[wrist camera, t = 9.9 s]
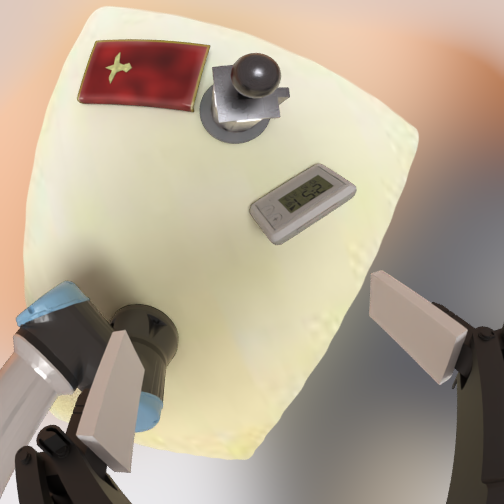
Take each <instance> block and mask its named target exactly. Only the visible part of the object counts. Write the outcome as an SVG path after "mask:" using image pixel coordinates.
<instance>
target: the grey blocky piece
mask: <svg viewBox="0 0 504 504" xmlns="http://www.w3.org/2000/svg"><path fill="white" fill-rule="evenodd" d="M232 67H233V65H229V66H218V67H212V71H213V80H214V85H213V93H212V103H211V116H212V119H213V121H214V122H215V124H216V125H217V126H218V127H219V128H221V129H222V130H224V131H227V132H231V133H241V132H245V131H247V130H249V129H251V128H252V127H253V126H254V125H255V124H257V123H258V122H259V121H261V120H262V119H271V118H280V111H279V104H281V103H282V102H284V101H285V100H286V99H288V98H289V97H290V94H289V88H277V89H276V90H275V91H274V92H273V93H271V94H270V95H268V96H266V97H262V98H251V99H241V100H239V99H238V91H237V90H236V89H235V88H234V86H233V84H232V81H231V70H232Z"/></svg>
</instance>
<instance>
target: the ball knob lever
mask: <svg viewBox="0 0 504 504" xmlns="http://www.w3.org/2000/svg"><path fill="white" fill-rule="evenodd" d="M280 80H281V72H280V68H279V66H278V64H277V63H276V62H275V61H274V60H273V59H272V58H271V57H269V56H267V55H264V54H261V53H251V54H247V55H244V56H242V57H241V58H239V59H238V60H237V61H236V62H235V64H234V65H233V67H232V70H231V81H232V84H233V86H234V88H235V89H236V90H237V91H238V99H239V100H241V99H251V98H262V97H266V96H268V95H270V94H271V93H273V92H274V91H275V90H276V89H277V87H278V86H279V83H280Z"/></svg>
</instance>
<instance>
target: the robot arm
mask: <svg viewBox="0 0 504 504" xmlns="http://www.w3.org/2000/svg"><path fill="white" fill-rule="evenodd" d="M369 316H370V317H371V318H372V319H373V320H375V321H376V323H378V324H379V325H380V326H381V327H382V328H383V329H384V330H385V331H386V332H387V333H388V334H389V335H390V336H391V337H392V338H393V339H394V340H395V341H396V342H397V343H398V344H399V345H400V346H401V347H402V348H403V349H404V350H405V351H406V352H407V353H408V354H409V355H410V356H411V357H412V358H413V359H414V360H415V361H416V362H417V363H418V364H419V365H420V366H421V367H422V368H423V369H424V370H425V371H426V372H427V373H428V374H429V375H430V376H431V377H432V378H433V379H434V380H435V381H436V382H437V383H438V384H439V385H441V384H442V383H443V382H445V381H447V380H448V379H449V378H451V376H452V373H453V371H454V368H455V369H456V370H457V371H458V374H457V377H456V379H455V381H454V383H453V386H452V389H454V388H455V385H456V384H457V432H456V445H455V455H454V463H453V470H452V477H451V483H450V488H449V493H448V498H447V502H446V504H504V324H503V327H502V329H498V330H495V331H493V330H492V329H490V328H488V327H483V326H482V327H478V328H476V329H475V328H473V327H472V326H471V325H469V324H468V323H467V322H465V321H464V320H462V319H461V318H460V317H458V316H457V315H455V314H454V313H453V312H451V311H449V310H448V309H447V308H445V307H444V306H443V305H440V304H437V303H435V302H432V303H430V302H429V301H427V300H426V299H424V298H423V297H421V296H420V295H419V294H417V293H416V292H414V291H413V290H411V289H410V288H408V287H407V286H405V285H404V284H402V283H401V282H399V281H398V280H396V279H395V278H393V277H392V276H390V275H389V274H387V273H385V272H384V271H383V270H381V271H378V272H374V273H371V291H370V309H369ZM16 322H17V325H18V326H19V327H20V329H19V330H18V331H17V332H16V334H15V335H14V336H13V340H14V353H13V354H12V355H11V356H10V358H9V359H8V360H7V361H6V363H5V364H4V365H3V367H2V368H1V369H0V498H1V496H2V494H3V491H4V490H5V487H6V485H7V483H8V481H9V479H10V477H11V475H12V473H13V471H14V469H15V471H16V482H17V490H18V497H19V503H20V504H132V503H131V502H130V501H129V500H128V499H127V497H126V496H125V495H124V494H123V492H122V491H121V490H120V489H119V487H118V486H117V485H116V484H115V482H114V481H113V479H112V478H111V477H110V475H108V474H107V473H106V469H107V466H108V467H109V468H111V469H112V470H113V471H114V472H126V473H130V472H131V462H132V452H133V443H134V435H135V432H143V431H147V430H149V429H151V428H153V427H154V426H155V425H156V424H157V423H158V422H159V419H160V415H161V409H162V408H163V395H164V384H165V373H166V367H167V366H168V364H169V363H170V361H171V360H172V358H173V357H174V356H175V354H176V351H177V347H178V333H177V329H176V327H175V325H174V324H173V322H172V321H171V320H170V319H169V318H168V317H167V316H166V315H165V314H164V313H162V312H161V311H159V310H157V309H155V308H153V307H150V306H146V305H139V304H135V305H129V306H125V307H123V308H121V309H120V310H118V311H117V312H116V313H115V315H114V316H113V318H112V320H111V322H110V324H109V323H108V322H107V321H106V320H105V318H104V317H103V316H102V315H101V314H100V313H99V311H98V310H97V309H96V308H95V307H94V305H93V304H92V303H91V302H90V299H89V298H88V297H86V296H85V295H84V294H83V293H82V291H81V290H80V289H79V288H78V287H77V285H76V284H75V283H73V282H71V281H64V282H62V283H60V284H59V285H57V286H56V287H54V288H53V289H51V290H50V291H49V292H47V293H46V294H44V295H43V296H42V297H40V298H39V299H38V300H37V301H35V302H34V303H33V304H32V305H30V306H29V307H28V308H27V309H25V310H24V311H23V312H22V313H20V314H19V315H18V316H17V318H16ZM76 388H78V389H80V390H81V391H82V393H81V394H80V395H79V396H78V399H77V402H76V404H75V406H76V407H74V410H73V414H72V416H71V419H70V422H69V425H68V428H67V431H66V434H65V433H64V432H63V431H62V430H61V429H60V427H58V426H56V425H49V426H46V427H44V428H43V429H42V430H41V431H40V432H39V434H38V436H37V440H36V441H37V445H38V446H39V447H40V448H41V449H42V450H43V451H44V452H40V453H38V452H37V451H35V450H34V449H33V448H32V447H30V446H28V444H29V442H30V441H31V439H32V437H33V435H34V434H35V432H36V430H37V429H38V427H39V425H40V424H41V422H42V421H43V419H44V417H45V416H46V414H47V413H48V411H49V409H50V408H51V406H52V405H53V403H54V402H55V400H56V399H57V397H58V396H60V395H71V394H73V393H74V391H75V390H76Z"/></svg>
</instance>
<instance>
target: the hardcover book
mask: <svg viewBox="0 0 504 504" xmlns="http://www.w3.org/2000/svg"><path fill="white" fill-rule="evenodd" d="M209 49H210V45H203V44H196V43H187V42H177V41H164V40H136V39H127V40H100V41H96V42H95V44H94V47H93V50H92V52H91V55H90V58H89V61H88V64H87V67H86V70H85V73H84V76H83V79H82V83H81V86H80V90H79V93H78V97H77V100H78V101H79V102H80V103H82V104H121V105H137V106H149V107H159V108H168V109H176V110H184V111H191V112H194V108H193V106H194V102H195V98H196V94H197V90H198V87H199V83H200V79H201V76H202V72H203V69H204V65H205V62H206V58H207V55H208V52H209Z"/></svg>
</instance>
